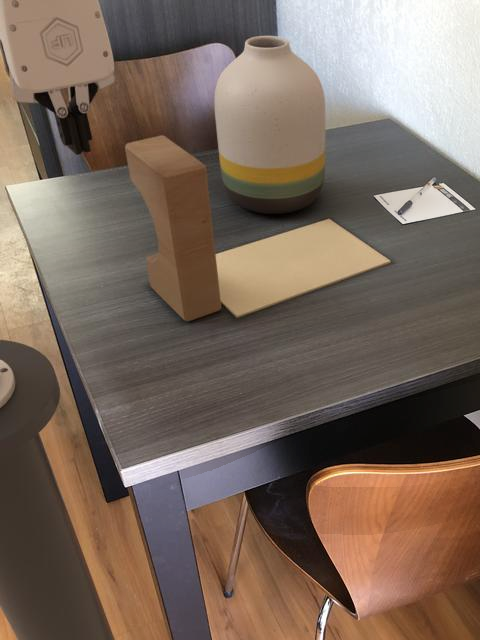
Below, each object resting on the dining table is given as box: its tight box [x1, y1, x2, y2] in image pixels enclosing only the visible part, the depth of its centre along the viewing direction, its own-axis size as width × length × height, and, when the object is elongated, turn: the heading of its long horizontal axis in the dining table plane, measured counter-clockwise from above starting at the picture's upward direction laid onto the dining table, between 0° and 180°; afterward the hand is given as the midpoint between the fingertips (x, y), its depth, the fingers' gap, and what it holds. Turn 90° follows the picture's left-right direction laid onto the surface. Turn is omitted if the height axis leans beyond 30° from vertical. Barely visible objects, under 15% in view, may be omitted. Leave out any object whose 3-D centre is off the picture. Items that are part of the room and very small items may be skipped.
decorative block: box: [124, 134, 222, 323], centre depth 93 cm, size 11×6×20 cm, turn 35°
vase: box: [213, 35, 326, 215], centre depth 114 cm, size 17×17×24 cm
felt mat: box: [215, 218, 391, 319], centre depth 107 cm, size 26×16×1 cm, turn 125°
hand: (78, 148), depth 80 cm, fingers closed
